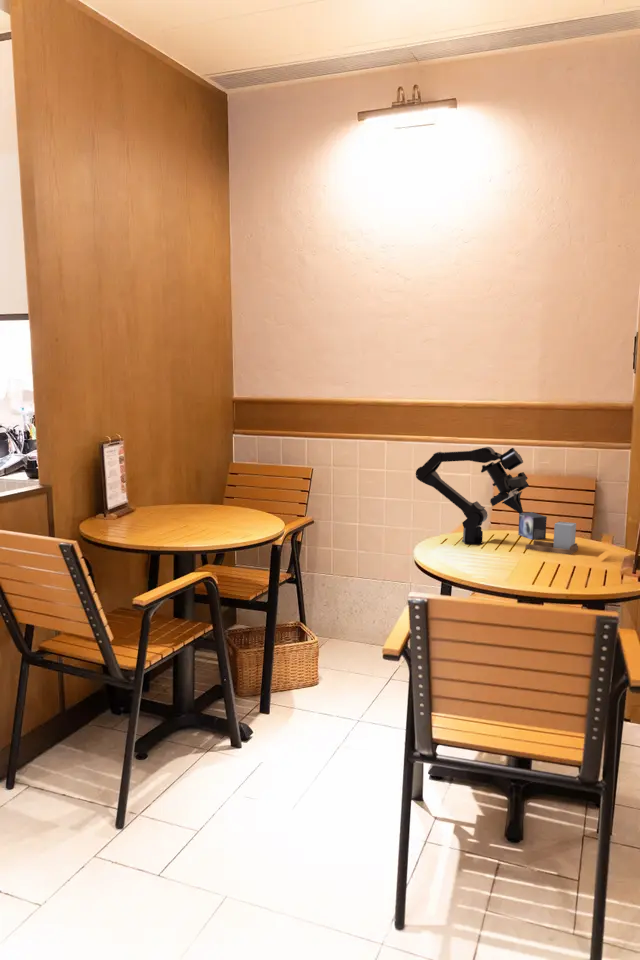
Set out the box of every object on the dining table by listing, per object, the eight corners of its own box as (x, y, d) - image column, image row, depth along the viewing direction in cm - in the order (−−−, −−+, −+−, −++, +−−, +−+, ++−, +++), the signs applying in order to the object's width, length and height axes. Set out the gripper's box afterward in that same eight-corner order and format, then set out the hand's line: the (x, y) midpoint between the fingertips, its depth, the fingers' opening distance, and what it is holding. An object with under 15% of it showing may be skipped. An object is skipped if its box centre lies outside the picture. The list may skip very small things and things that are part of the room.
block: (553, 551, 278) (554, 523, 276) (557, 548, 283) (559, 521, 281) (570, 553, 274) (571, 525, 273) (574, 550, 279) (576, 523, 278)
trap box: (525, 552, 281) (525, 541, 281) (534, 548, 290) (534, 537, 289) (569, 558, 272) (570, 547, 272) (577, 553, 281) (578, 543, 281)
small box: (516, 538, 308) (518, 512, 307) (531, 537, 310) (532, 511, 309) (531, 543, 298) (533, 516, 297) (546, 543, 300) (547, 516, 299)
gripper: (501, 474, 278) (524, 511, 276) (528, 460, 291) (550, 496, 288) (480, 487, 286) (502, 524, 284) (506, 473, 299) (528, 508, 296)
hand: (521, 512), depth 288 cm, fingers closed
